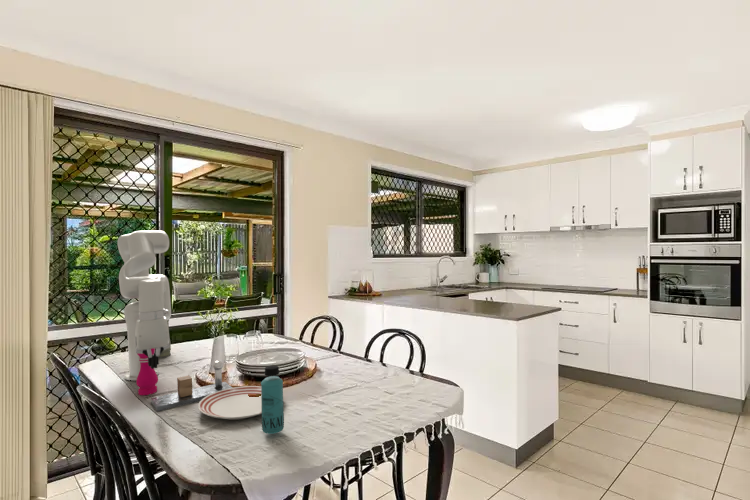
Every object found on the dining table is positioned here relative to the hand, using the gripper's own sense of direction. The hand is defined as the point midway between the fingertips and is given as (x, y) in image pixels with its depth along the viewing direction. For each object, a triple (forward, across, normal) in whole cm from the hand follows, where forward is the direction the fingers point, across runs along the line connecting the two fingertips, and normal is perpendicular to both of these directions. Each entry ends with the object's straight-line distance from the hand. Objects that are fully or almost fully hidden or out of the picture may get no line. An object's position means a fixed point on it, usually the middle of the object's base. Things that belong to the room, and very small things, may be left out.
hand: (153, 367), depth 148 cm
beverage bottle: (+11, -22, +48) cm, 54 cm away
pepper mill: (+14, 0, -15) cm, 21 cm away
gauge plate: (+13, -12, +2) cm, 18 cm away
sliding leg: (+12, -10, +2) cm, 15 cm away
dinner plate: (+13, -22, +23) cm, 34 cm away
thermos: (+17, -16, -67) cm, 71 cm away
